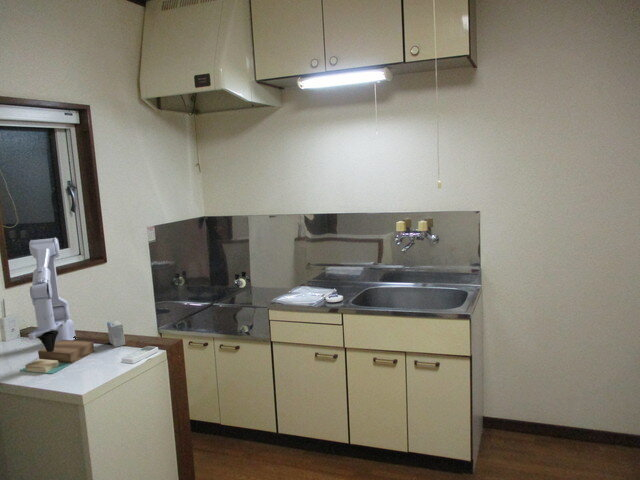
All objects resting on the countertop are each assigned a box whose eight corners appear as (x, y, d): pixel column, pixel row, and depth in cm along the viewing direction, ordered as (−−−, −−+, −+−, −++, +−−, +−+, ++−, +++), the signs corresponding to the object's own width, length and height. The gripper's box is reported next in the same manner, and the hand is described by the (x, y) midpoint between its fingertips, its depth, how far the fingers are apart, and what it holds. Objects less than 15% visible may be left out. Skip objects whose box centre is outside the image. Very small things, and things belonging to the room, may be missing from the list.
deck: (63, 349, 208) (62, 339, 208) (94, 351, 204) (93, 341, 203) (39, 361, 197) (37, 351, 197) (71, 363, 193) (69, 353, 192)
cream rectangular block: (25, 365, 188) (26, 370, 188) (45, 367, 185) (45, 372, 185) (38, 358, 193) (39, 364, 193) (58, 360, 190) (58, 365, 191)
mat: (38, 361, 197) (38, 360, 197) (70, 364, 192) (70, 363, 192) (19, 370, 189) (19, 370, 189) (52, 374, 184) (52, 373, 184)
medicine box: (125, 344, 209) (123, 324, 208) (114, 347, 207) (111, 326, 205) (120, 339, 216) (118, 319, 214) (109, 342, 213) (106, 322, 212)
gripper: (37, 322, 182) (43, 359, 185) (68, 310, 196) (73, 344, 198) (21, 321, 184) (27, 358, 187) (53, 309, 198) (58, 343, 200)
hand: (50, 351), depth 193 cm, fingers closed
